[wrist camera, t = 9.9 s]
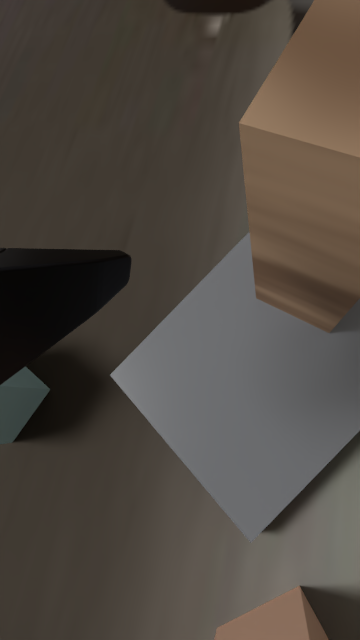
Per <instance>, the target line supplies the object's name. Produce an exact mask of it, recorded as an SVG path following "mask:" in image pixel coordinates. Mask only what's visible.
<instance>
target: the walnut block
mask: <svg viewBox="0 0 360 640" xmlns="http://www.w3.org/2000/svg"><path fill="white" fill-rule="evenodd" d="M239 129H240V139H241V149H242V159H243V170H244V180H245V190H246V200H247V211H248V221H249V231H250V241H251V252H252V262H253V272H254V282H255V293H256V298H257V299H259V300H261V301H263V302H265V303H267V304H269V305H271V306H273V307H275V308H278V309H280V310H282V311H284V312H286V313H288V314H290V315H292V316H294V317H296V318H298V319H300V320H303V321H305V322H307V323H309V324H311V325H313V326H315V327H317V328H319V329H321V330H323V331H325V332H327V333H330V332H331V331H332V329H333V328H334V327H335V326H336V325H337V324H338V323H339V321H340V320H341V319H342V318H343V317H344V316H345V315H346V313H347V312H348V311H349V310H350V309H351V308H352V307H353V305H354V304H355V303H356V302H357V301H358V300H359V299H360V0H314V2H313V4H312V5H311V7H310V8H309V10H308V12H307V13H306V15H305V17H304V19H303V20H302V22H301V23H300V25H299V27H298V28H297V30H296V31H295V33H294V34H293V36H292V38H291V39H290V41H289V43H288V44H287V46H286V47H285V49H284V51H283V52H282V54H281V56H280V57H279V59H278V60H277V62H276V64H275V65H274V67H273V69H272V70H271V72H270V73H269V75H268V77H267V78H266V80H265V82H264V83H263V85H262V86H261V88H260V90H259V91H258V93H257V95H256V96H255V98H254V99H253V101H252V103H251V104H250V106H249V108H248V109H247V111H246V112H245V114H244V116H243V117H242V119H241V121H240V122H239Z"/></svg>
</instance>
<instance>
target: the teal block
mask: <svg viewBox="0 0 360 640" xmlns="http://www.w3.org/2000/svg"><path fill="white" fill-rule="evenodd" d="M49 391H50V389H49V388H48V387H47V386H46V385H45V384H44V383H43V382H42V381H41V380H40V379H39V378H37V377H36V376H35V375H34V374H33V373H32V372H31V371H30V370H29V369H28V368H27V367H24V368H23V369H21V370H20V371H19V372H17V373H16V374H15V375H13V376H12V377H11V378H9V379H8V380H7V381H5V382H4V383H3V384H1V385H0V444H5V443H11V442H13V441H14V440H15V438H16V437H17V435H18V434H19V433H20V431H21V430H22V428H23V427H24V426H25V424H26V423H27V421H28V420H29V419H30V417H31V416H32V414H33V413H34V412H35V410H36V409H37V407H38V406H39V405H40V403H41V402H42V400H43V399H44V398H45V396H46V395H47V393H48V392H49Z"/></svg>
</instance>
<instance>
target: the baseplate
mask: <svg viewBox="0 0 360 640" xmlns="http://www.w3.org/2000/svg"><path fill="white" fill-rule="evenodd" d="M110 376H111V377H112V378H113V379H114V380H115V382H116V383H117V384H118V385H119V386H120V388H121V389H122V390H123V391H124V392H125V394H126V395H127V396H128V397H129V398H130V400H131V401H132V402H133V403H134V404H135V405H136V407H137V408H138V409H139V410H140V411H141V413H142V414H143V415H144V416H145V417H146V419H147V420H148V421H149V422H150V423H151V425H152V426H153V427H154V428H155V429H156V431H157V432H158V433H159V434H160V435H161V436H162V438H163V439H164V440H165V441H166V442H167V444H168V445H169V446H170V447H171V448H172V450H173V451H174V452H175V453H176V454H177V456H178V457H179V458H180V459H181V460H182V461H183V463H184V464H185V465H186V466H187V467H188V469H189V470H190V471H191V472H192V473H193V475H194V476H195V477H196V478H197V479H198V481H199V482H200V483H201V484H202V485H203V487H204V488H205V489H206V490H207V491H208V492H209V494H210V495H211V496H212V497H213V498H214V500H215V501H216V502H217V503H218V504H219V506H220V507H221V508H222V509H223V510H224V512H225V513H226V514H227V515H228V516H229V518H230V519H231V520H232V521H233V522H234V523H235V525H236V526H237V527H238V528H239V529H240V531H241V532H242V533H243V534H244V535H245V537H246V538H247V539H248V540H249V541H250V543H251V542H252V541H253V540H254V539H255V538H256V537H257V536H258V535H259V534H260V533H261V532H262V531H263V530H264V529H265V528H266V527H267V526H268V525H269V524H270V523H271V522H272V520H273V519H274V518H275V517H276V516H277V515H278V514H279V513H280V512H281V511H282V510H283V509H284V508H285V507H286V506H287V505H288V504H289V503H290V502H291V501H292V500H293V499H294V498H295V497H296V496H297V495H298V494H299V493H300V492H301V491H302V490H303V489H304V488H305V486H306V485H307V484H308V483H309V482H310V481H311V480H312V479H313V478H314V477H315V476H316V475H317V474H318V473H319V472H320V471H321V470H322V469H323V468H324V467H325V466H326V465H327V464H328V463H329V462H330V461H331V460H332V459H333V458H334V457H335V456H336V455H337V454H338V452H339V451H340V450H341V449H342V448H343V447H344V446H345V445H346V444H347V443H348V442H349V441H350V440H351V439H352V438H353V437H354V436H355V435H356V434H357V433H358V432H359V431H360V299H359V300H358V301H357V302H356V303H355V304H354V305H353V307H352V308H351V309H350V310H349V311H348V312H347V313H346V315H345V316H344V317H343V318H342V319H341V320H340V321H339V323H338V324H337V325H336V326H335V327H334V328H333V329H332V331H331V332H330V333H327V332H325V331H323V330H321V329H319V328H317V327H315V326H313V325H311V324H309V323H307V322H305V321H303V320H300V319H298V318H296V317H294V316H292V315H290V314H288V313H286V312H284V311H282V310H280V309H278V308H275V307H273V306H271V305H269V304H267V303H265V302H263V301H261V300H259V299H257V298H256V293H255V282H254V272H253V262H252V252H251V241H250V232H249V233H248V234H247V235H246V236H245V237H244V238H243V239H242V240H241V241H240V242H239V243H238V244H237V245H236V246H235V247H234V248H233V249H232V250H231V251H230V252H229V253H228V254H227V255H226V256H225V257H224V258H223V259H222V260H221V261H220V262H219V263H218V264H217V265H216V267H215V268H214V269H213V270H212V271H211V272H210V273H209V274H208V275H207V276H206V277H205V278H204V279H203V280H202V281H201V282H200V283H199V284H198V285H197V286H196V287H195V288H194V289H193V290H192V291H191V292H190V293H189V294H188V295H187V296H186V297H185V298H184V299H183V300H182V301H181V302H180V304H179V305H178V306H177V307H176V308H175V309H174V310H173V311H172V312H171V313H170V314H169V315H168V316H167V317H166V318H165V319H164V320H163V321H162V322H161V323H160V324H159V325H158V326H157V327H156V328H155V329H154V330H153V331H152V332H151V333H150V334H149V335H148V336H147V337H146V338H145V340H144V341H143V342H142V343H141V344H140V345H139V346H138V347H137V348H136V349H135V350H134V351H133V352H132V353H131V354H130V355H129V356H128V357H127V358H126V359H125V360H124V361H123V362H122V363H121V364H120V365H119V366H118V367H117V368H116V369H115V370H114V371H113V372H112V373H111V374H110Z"/></svg>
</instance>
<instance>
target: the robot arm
mask: <svg viewBox="0 0 360 640" xmlns="http://www.w3.org/2000/svg"><path fill="white" fill-rule="evenodd" d="M130 269H131V257H130V255H128V254H126V253H124V252H122V251H120V250H75V249H22V248H8V249H6V248H0V385H1V384H3V383H4V382H5V381H7V380H8V379H9V378H11V377H12V376H13V375H15V374H16V373H17V372H19V371H20V370H21V369H23V368H24V367H25V366H27V365H28V364H29V363H31V362H32V361H33V360H35V359H36V358H37V357H39V356H40V355H41V354H43V353H44V352H45V351H47V350H48V349H49V348H51V347H52V346H53V345H55V344H56V343H57V342H58V341H60V340H61V339H62V338H64V337H65V336H66V335H68V334H69V333H70V332H72V331H73V330H74V329H76V328H77V327H78V326H80V325H81V324H82V323H84V322H85V321H86V320H88V319H89V318H90V317H92V316H93V315H94V314H95V313H97V312H98V311H99V310H100V309H101V308H102V307H103V306H104V305H105V304H106V303H108V302H109V301H110V300H111V299H112V298H113V297H114V296H115V295H116V294H117V293H118V292H119V291H120V290H121V289H122V288H124V287H125V286H126V284H127V283H128V281H129V277H130Z"/></svg>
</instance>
